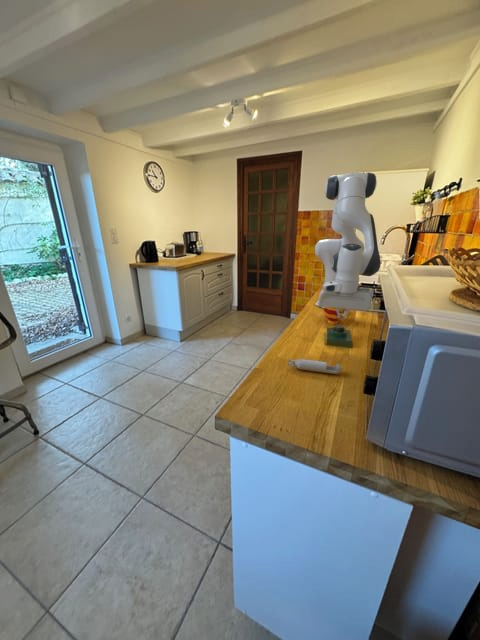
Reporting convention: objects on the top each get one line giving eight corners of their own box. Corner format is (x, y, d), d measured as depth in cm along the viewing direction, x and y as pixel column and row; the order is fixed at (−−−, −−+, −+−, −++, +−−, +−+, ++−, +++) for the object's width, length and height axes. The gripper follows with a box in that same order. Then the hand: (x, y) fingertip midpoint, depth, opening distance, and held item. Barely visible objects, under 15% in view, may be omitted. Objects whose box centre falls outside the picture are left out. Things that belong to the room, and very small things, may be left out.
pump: (334, 328, 112) (335, 324, 111) (343, 329, 110) (344, 325, 110) (335, 331, 108) (335, 327, 108) (343, 332, 107) (344, 328, 107)
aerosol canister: (339, 370, 89) (342, 353, 87) (341, 377, 85) (344, 360, 82) (288, 363, 93) (289, 347, 91) (287, 370, 89) (288, 354, 87)
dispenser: (325, 333, 118) (327, 323, 116) (349, 335, 115) (350, 325, 113) (325, 344, 107) (327, 334, 105) (351, 347, 104) (353, 337, 103)
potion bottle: (340, 318, 134) (344, 291, 129) (345, 326, 125) (350, 297, 119) (319, 318, 135) (323, 291, 130) (323, 325, 126) (327, 296, 120)
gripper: (373, 286, 102) (367, 318, 107) (320, 283, 108) (316, 313, 113) (375, 290, 96) (369, 323, 101) (319, 286, 102) (316, 318, 107)
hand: (341, 318), depth 107 cm, fingers closed
